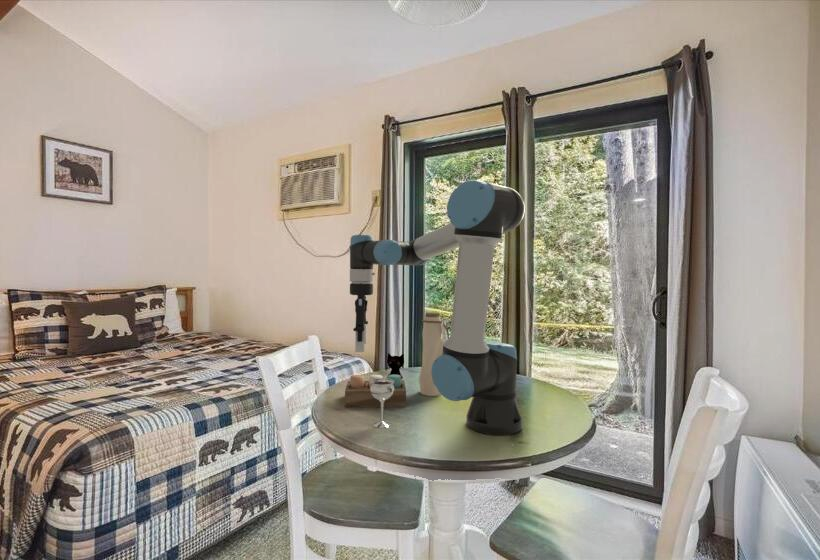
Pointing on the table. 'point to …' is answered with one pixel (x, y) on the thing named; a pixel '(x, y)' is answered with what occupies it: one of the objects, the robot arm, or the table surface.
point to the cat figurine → (395, 364)
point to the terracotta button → (357, 381)
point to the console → (366, 399)
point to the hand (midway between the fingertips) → (360, 347)
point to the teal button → (396, 380)
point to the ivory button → (374, 378)
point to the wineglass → (382, 396)
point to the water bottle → (431, 350)
